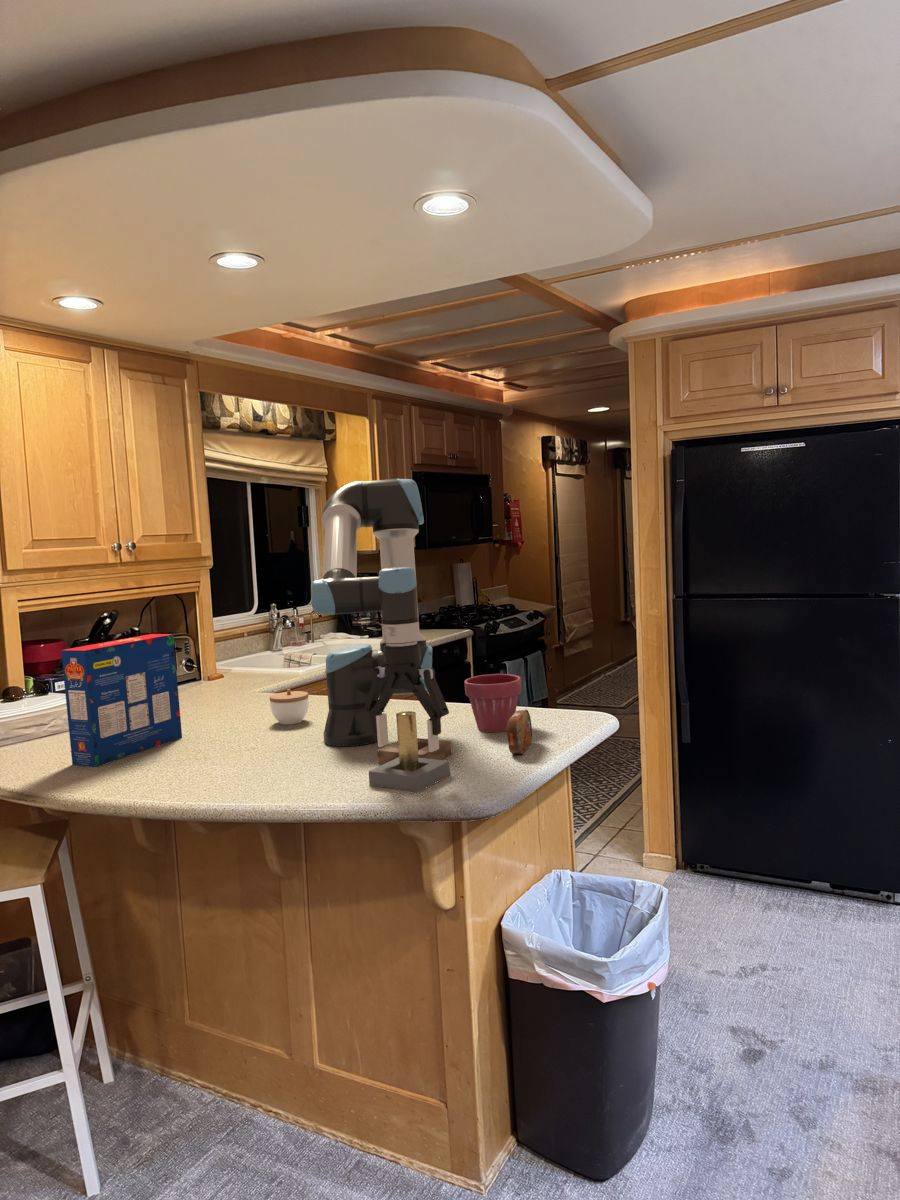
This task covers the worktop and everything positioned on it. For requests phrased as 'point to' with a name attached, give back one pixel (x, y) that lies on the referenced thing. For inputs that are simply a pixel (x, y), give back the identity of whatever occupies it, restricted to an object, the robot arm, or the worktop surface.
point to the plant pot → (493, 699)
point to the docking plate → (409, 775)
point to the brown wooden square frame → (423, 751)
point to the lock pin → (407, 741)
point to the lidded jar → (289, 706)
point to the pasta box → (121, 698)
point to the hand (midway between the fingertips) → (408, 747)
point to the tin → (519, 732)
